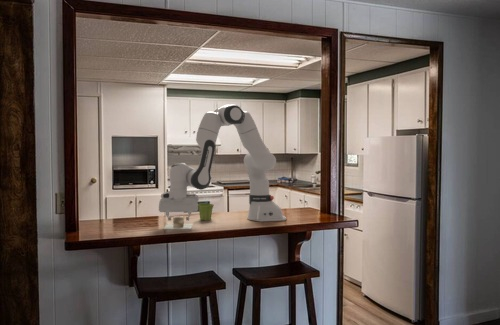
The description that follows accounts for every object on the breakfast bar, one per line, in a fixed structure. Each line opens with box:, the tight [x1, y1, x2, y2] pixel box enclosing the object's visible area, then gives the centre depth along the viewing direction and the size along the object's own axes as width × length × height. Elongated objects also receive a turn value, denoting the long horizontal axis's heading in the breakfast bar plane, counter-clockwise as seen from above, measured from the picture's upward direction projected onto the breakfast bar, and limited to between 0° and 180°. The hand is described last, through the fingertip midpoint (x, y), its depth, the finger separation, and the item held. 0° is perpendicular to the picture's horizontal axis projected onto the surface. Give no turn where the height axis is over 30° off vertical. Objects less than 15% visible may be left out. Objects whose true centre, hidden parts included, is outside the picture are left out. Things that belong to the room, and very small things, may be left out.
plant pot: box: [198, 203, 214, 221], centre depth 244 cm, size 9×9×9 cm
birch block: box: [172, 215, 185, 227], centre depth 222 cm, size 5×5×5 cm
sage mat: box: [163, 223, 194, 230], centre depth 222 cm, size 14×14×1 cm
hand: (178, 220), depth 222 cm, fingers open, 8 cm apart
